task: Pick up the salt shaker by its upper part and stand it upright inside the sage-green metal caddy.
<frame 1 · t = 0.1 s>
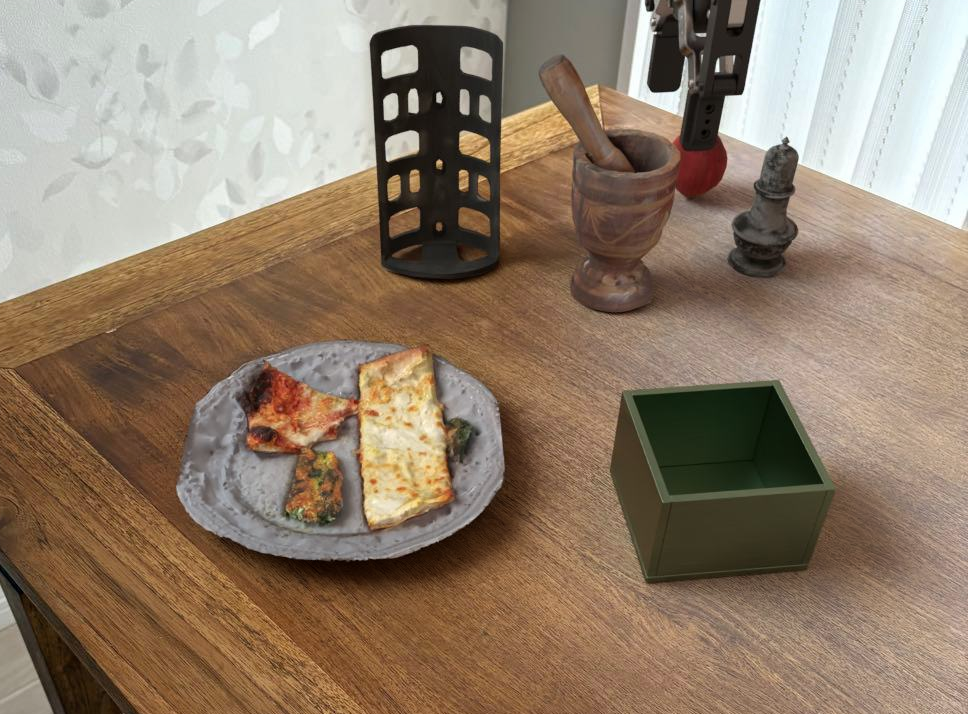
hand: (678, 118, 74), 22 cm above the table, tool pointing down, fingers open, 8 cm apart
food plate: (345, 461, 83), on the table
holder: (437, 258, 103), on the table
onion: (689, 199, 110), on the table
salt shaker: (756, 263, 102), on the table
caddy: (703, 518, 79), on the table
mortar and pestle: (591, 292, 99), on the table
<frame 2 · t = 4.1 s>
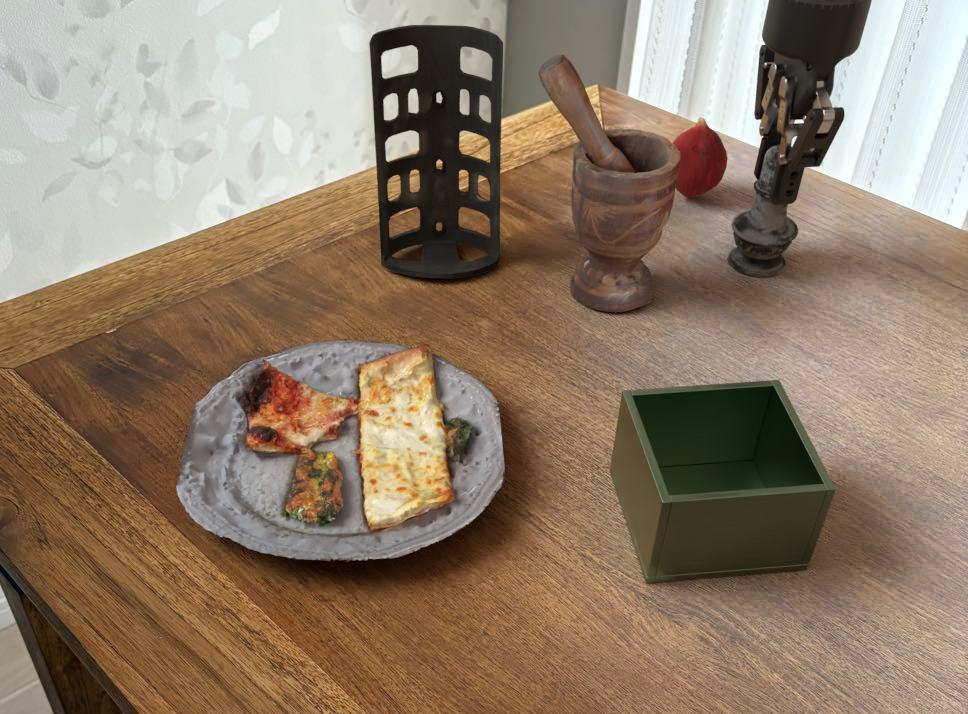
hand: (773, 189, 97), 7 cm above the table, tool pointing down, fingers closed on salt shaker, 3 cm apart
salt shaker: (756, 263, 102), on the table, touching gripper
everything else where it was.
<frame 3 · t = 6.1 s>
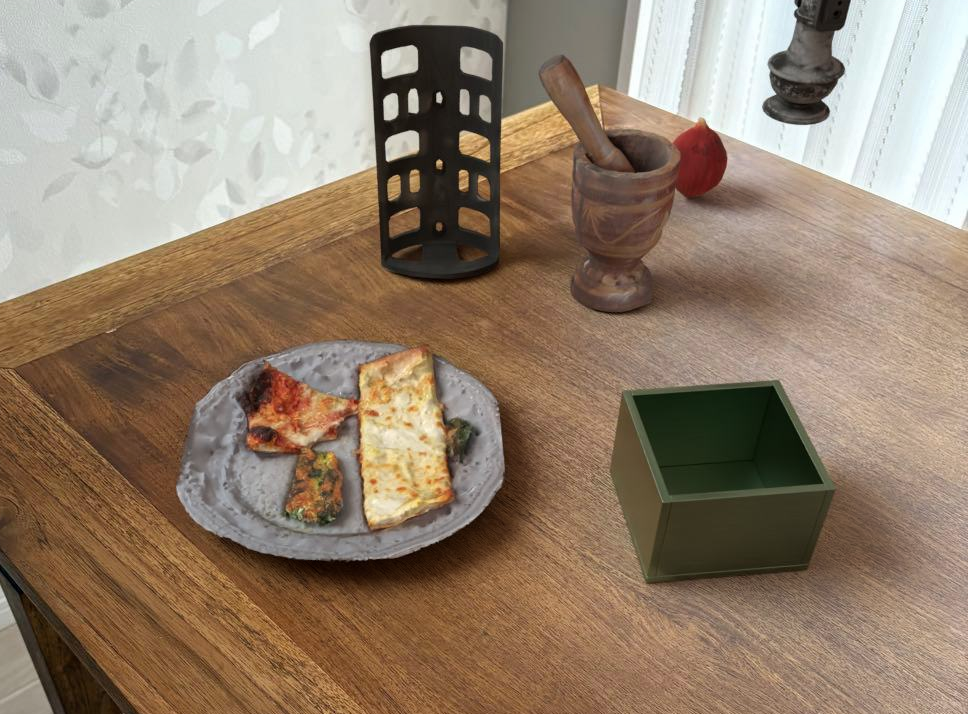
hand: (817, 17, 84), 23 cm above the table, tool pointing down, fingers closed on salt shaker, 3 cm apart
salt shaker: (795, 112, 89), point 15 cm above the table, touching gripper
everything else where it was.
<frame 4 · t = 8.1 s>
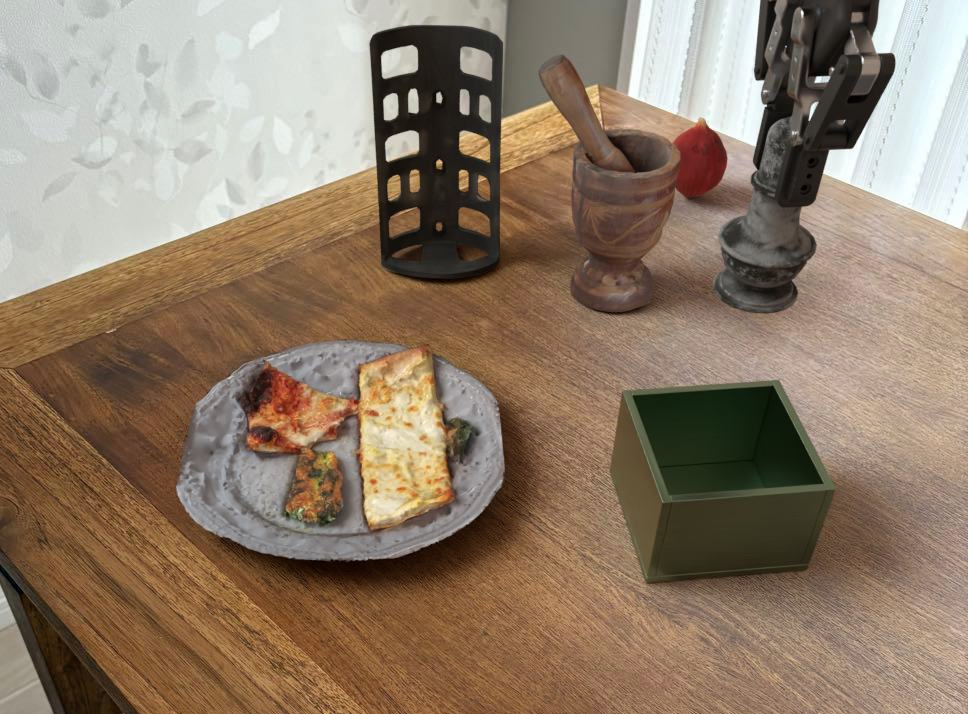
hand: (781, 184, 65), 23 cm above the table, tool pointing down, fingers closed on salt shaker, 3 cm apart
salt shaker: (754, 292, 70), point 16 cm above the table, touching gripper
everything else where it was.
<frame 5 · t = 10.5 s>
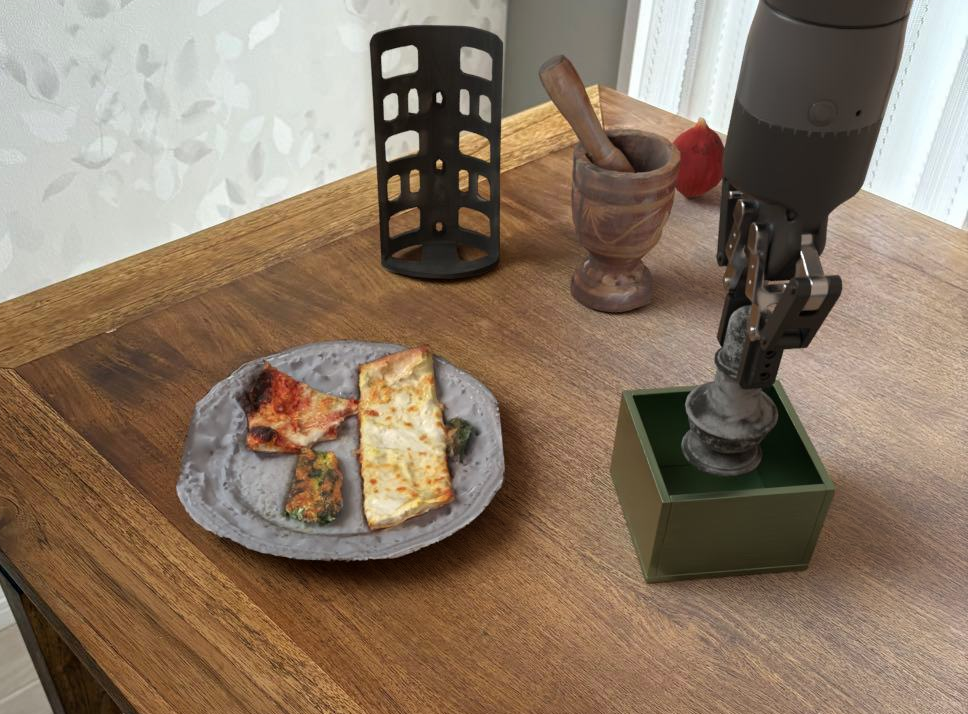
hand: (743, 362, 69), 14 cm above the table, tool pointing down, fingers closed on salt shaker, 3 cm apart
salt shaker: (720, 452, 74), point 6 cm above the table, touching gripper
everything else where it was.
when the fingers open (8 cm above the table, at t = 12.3 s): salt shaker stays where it is, resting on caddy.
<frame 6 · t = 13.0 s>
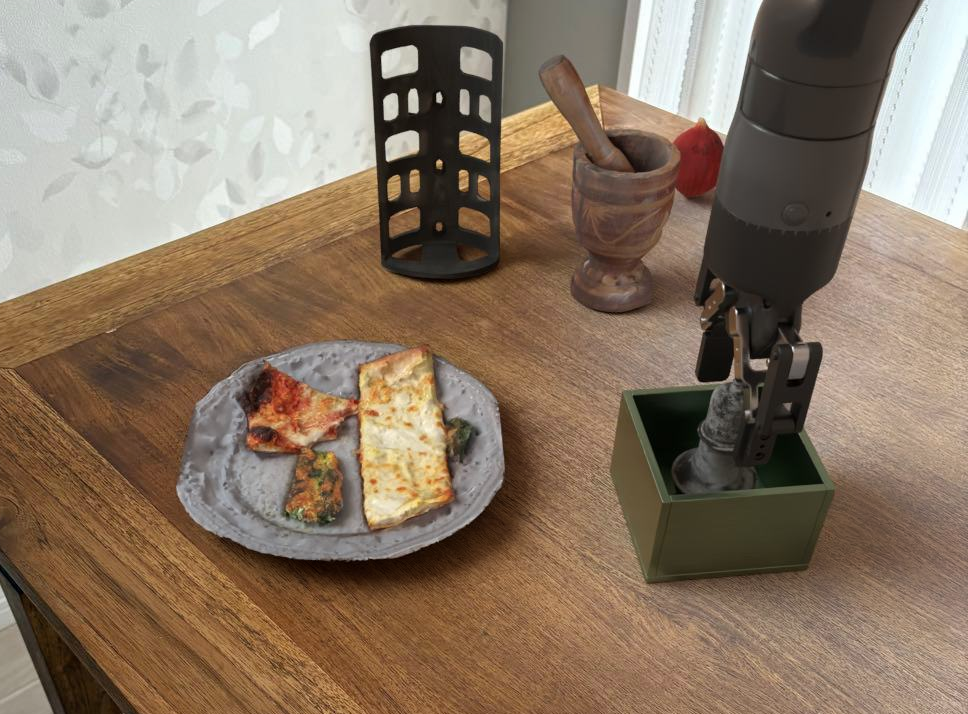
hand: (729, 419, 72), 9 cm above the table, tool pointing down, fingers open, 8 cm apart
salt shaker: (705, 514, 79), resting on caddy
everything else where it was.
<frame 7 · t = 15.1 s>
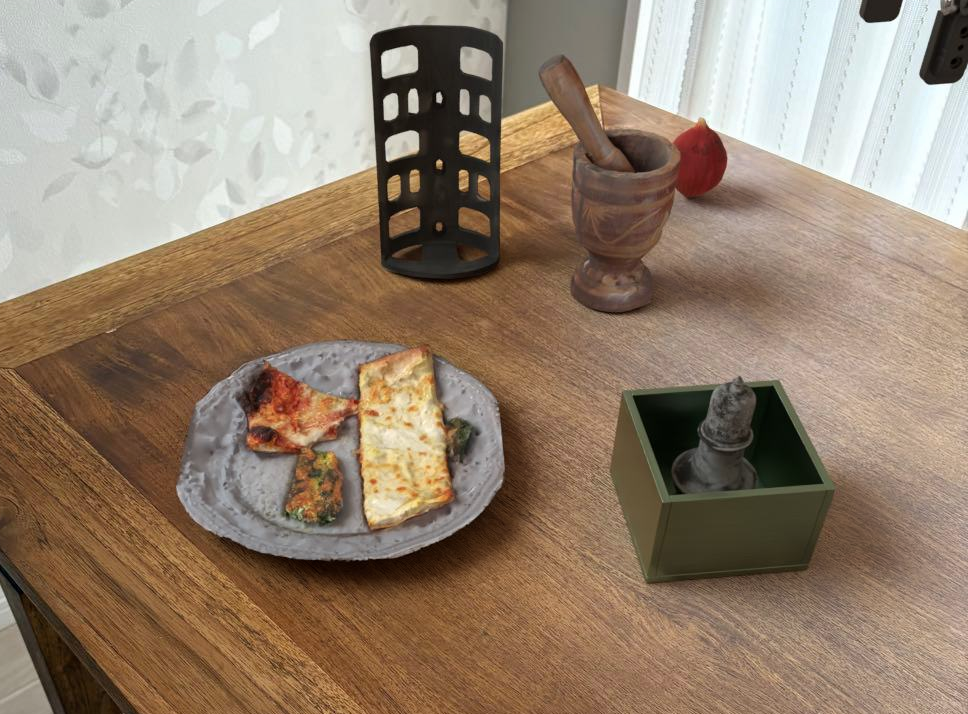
hand: (906, 49, 64), 29 cm above the table, tool pointing down, fingers open, 8 cm apart
nothing on the table moved.
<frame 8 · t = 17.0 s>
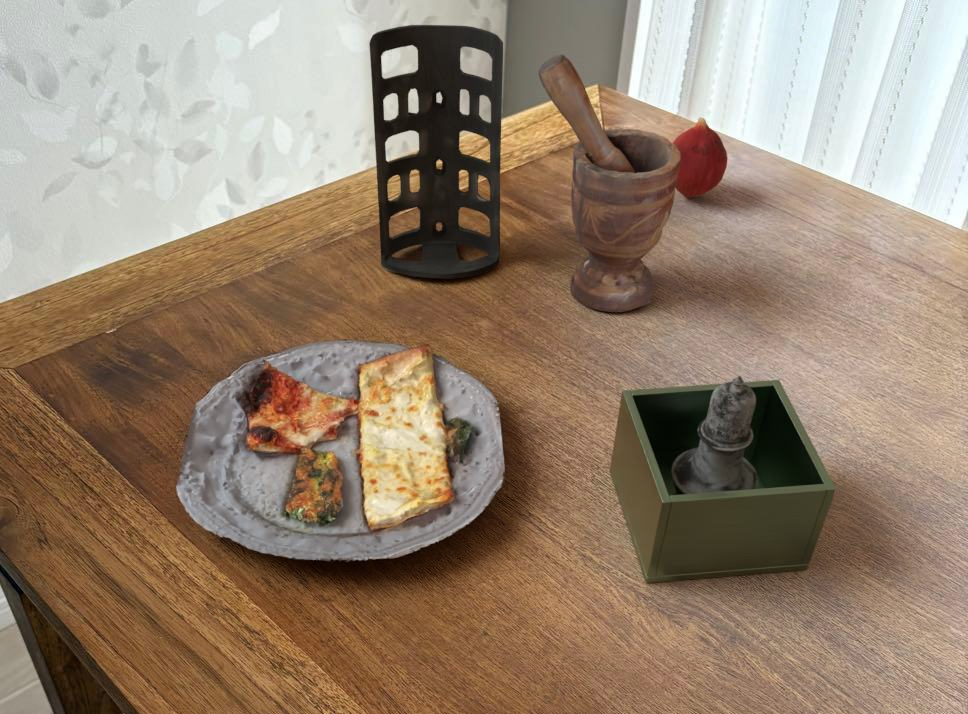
nothing on the table moved.
at the end: salt shaker inside the target area in the caddy (0.0 cm from its centre), point 0.4 cm above the caddy's base; salt shaker tilted 0° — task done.
